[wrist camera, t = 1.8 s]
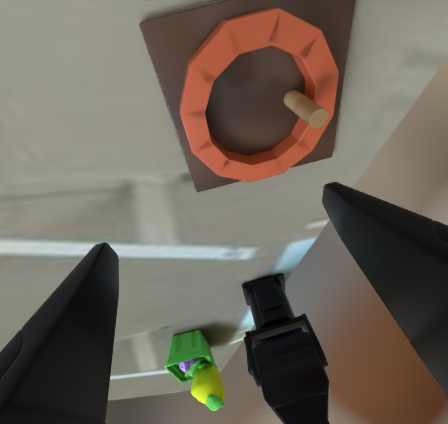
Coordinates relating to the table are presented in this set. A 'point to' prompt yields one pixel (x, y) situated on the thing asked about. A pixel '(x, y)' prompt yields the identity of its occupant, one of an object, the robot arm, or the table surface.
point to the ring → (221, 58)
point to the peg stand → (248, 80)
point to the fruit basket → (196, 368)
